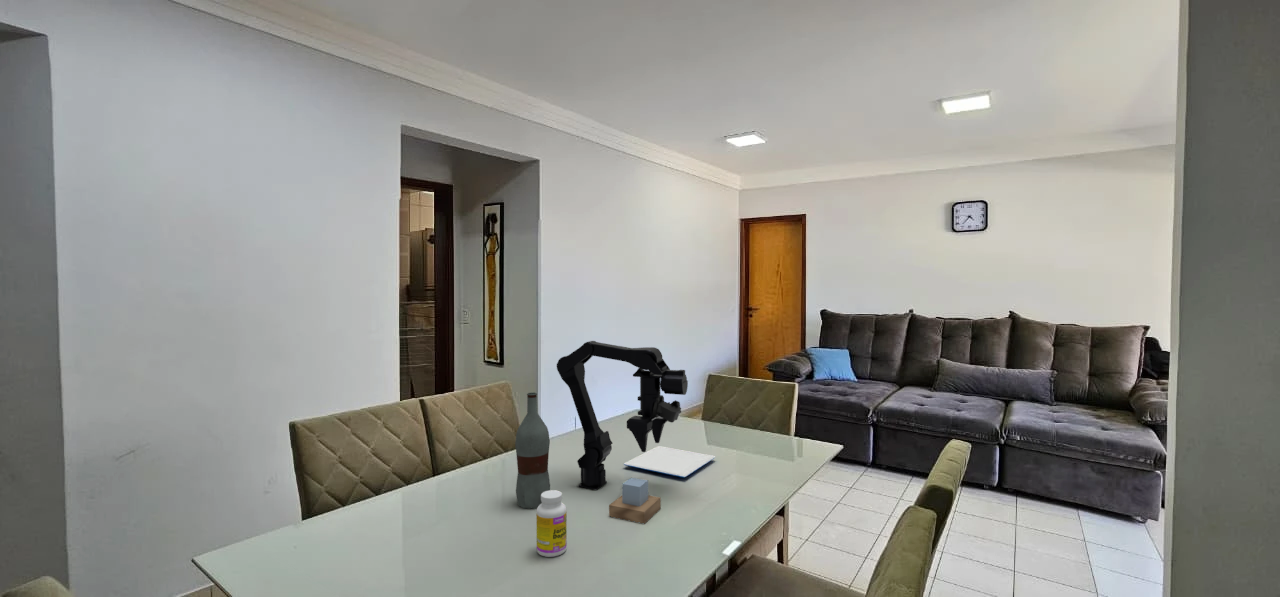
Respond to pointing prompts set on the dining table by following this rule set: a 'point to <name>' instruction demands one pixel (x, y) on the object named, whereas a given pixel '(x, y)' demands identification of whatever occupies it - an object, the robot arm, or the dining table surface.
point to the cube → (635, 491)
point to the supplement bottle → (551, 524)
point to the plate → (670, 461)
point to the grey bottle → (532, 457)
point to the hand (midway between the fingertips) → (650, 447)
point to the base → (635, 509)
